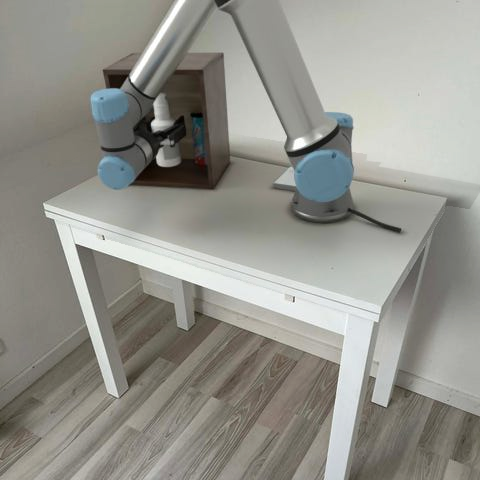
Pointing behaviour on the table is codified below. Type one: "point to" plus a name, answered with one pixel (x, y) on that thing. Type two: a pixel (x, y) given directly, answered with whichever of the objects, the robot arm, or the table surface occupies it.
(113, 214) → the table surface
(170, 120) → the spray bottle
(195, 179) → the cupboard
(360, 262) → the table surface
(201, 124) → the beverage can
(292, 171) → the hard drive
